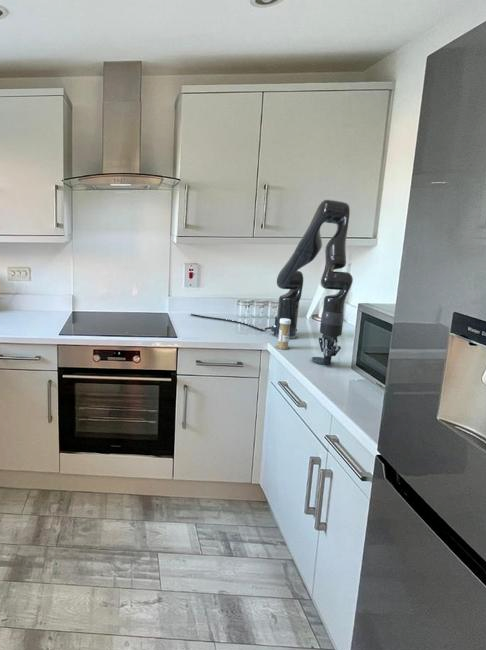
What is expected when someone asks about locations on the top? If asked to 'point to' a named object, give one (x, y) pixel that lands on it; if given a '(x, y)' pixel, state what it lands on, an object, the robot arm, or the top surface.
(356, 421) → the top surface
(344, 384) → the top surface
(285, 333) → the sprinkles bottle
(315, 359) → the plate
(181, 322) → the top surface
